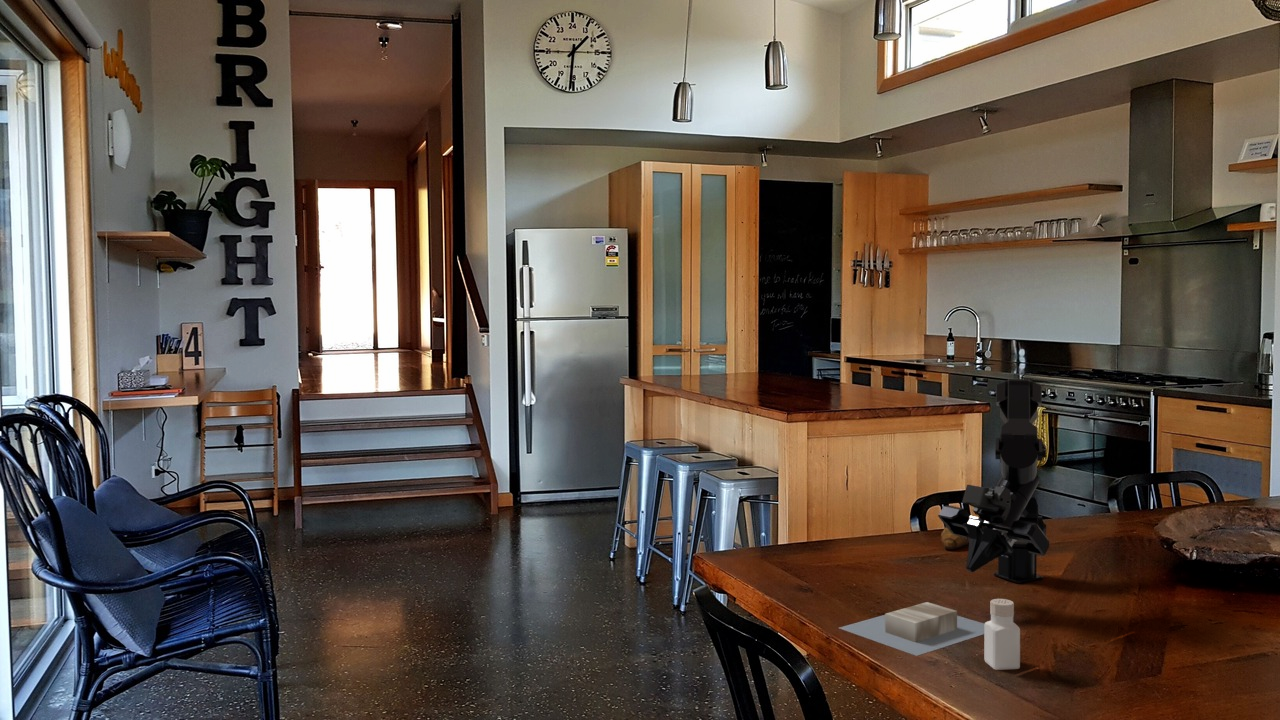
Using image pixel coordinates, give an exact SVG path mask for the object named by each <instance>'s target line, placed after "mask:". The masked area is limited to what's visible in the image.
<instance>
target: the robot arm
mask: <svg viewBox="0 0 1280 720" xmlns="http://www.w3.org/2000/svg"><path fill="white" fill-rule="evenodd" d="M995 393H996V394H995V404H996V406H997V407H999V417H1000V419H1001V420H1002V422H1003V423H1004V424H1002V425H1001V426H999V427H1000V428H999V429H1000V432H999V437H996V438H995V447H994V448H995V458H994V459H995V460H999V463H1000V473H1001V476H1000V479H999V481H998V482H997V484H996V486H995V488H990V487H989V488H987V487H983V486H979V485H974V484H973V485H972V484H967V485H966V487H965V491H964V493H963V498H962V501H961V502H962V504H964V505H966V504H967V505H968V506H971V507H973V509H972V512H973V513H974V514H975V515H976V516H973V515H970V514H969V513H968V512H967V510H966V509H965V508H963V507H958V506H953V505H950V504H949V505H944V506H942V508H941V510H940V511H939V514H938V515H937V517H938V518H939V519H940V521H941V522H942V523H943V524H944V525H945V528H946V527H947V528H948V529H949V531H950V532H951V533H952V534H954V535H956V536H960V537H964V538H969V543H968V552H967V558H966V559H967V560H966V565H965V566H966V567H965V568H966V570H967V572H969V573H974V572H976V571H977V570H979V569H980V568H982V567H984V566H985V565H987V564H989V563H990V562H992V561H993V560H995V559H997V561H998V563H997V564H998V566H997V568H998V570H997V571H994V572H993V576H995V577H999V578H1001V579H1004V580H1008V581H1009V582H1014V583H1016V584H1022V583H1027V582H1033V581H1037V580H1043V579H1044V576H1043V575H1041V574H1038V573H1037V566H1038V565H1037V564H1038V563H1037V562H1038V561H1037V560H1038V559H1037V557H1038V556H1041V557H1044V556H1045V555H1046V554H1047V552H1048V550H1049V548H1050V541H1049V538H1048V537H1047V523H1045V522H1044V519H1043V516H1039V504H1038V501H1037V499H1036V497H1035V496H1033V495H1034V493H1035V490H1036V489H1037V487H1038V485H1039V483H1040V478H1039V475H1038V473H1037V472H1038V461H1039V462H1043V459H1044V458H1047V446H1046V444H1045V443H1044V441H1043V439H1042V438H1039V436H1038V434H1039V433H1038V431H1039V430H1038V427H1037V426H1036V425H1034V423H1035V421H1036V420H1037V418H1038V410H1039V409H1038V408H1041V407H1042V403H1043V402H1042V397H1043V396H1042V385H1041V384H1039V383H1035V382H1033V380H1031V379H1029V378H1008V379H1006V380H1004V382H1002V383H997V384H996V385H995Z"/></svg>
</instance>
